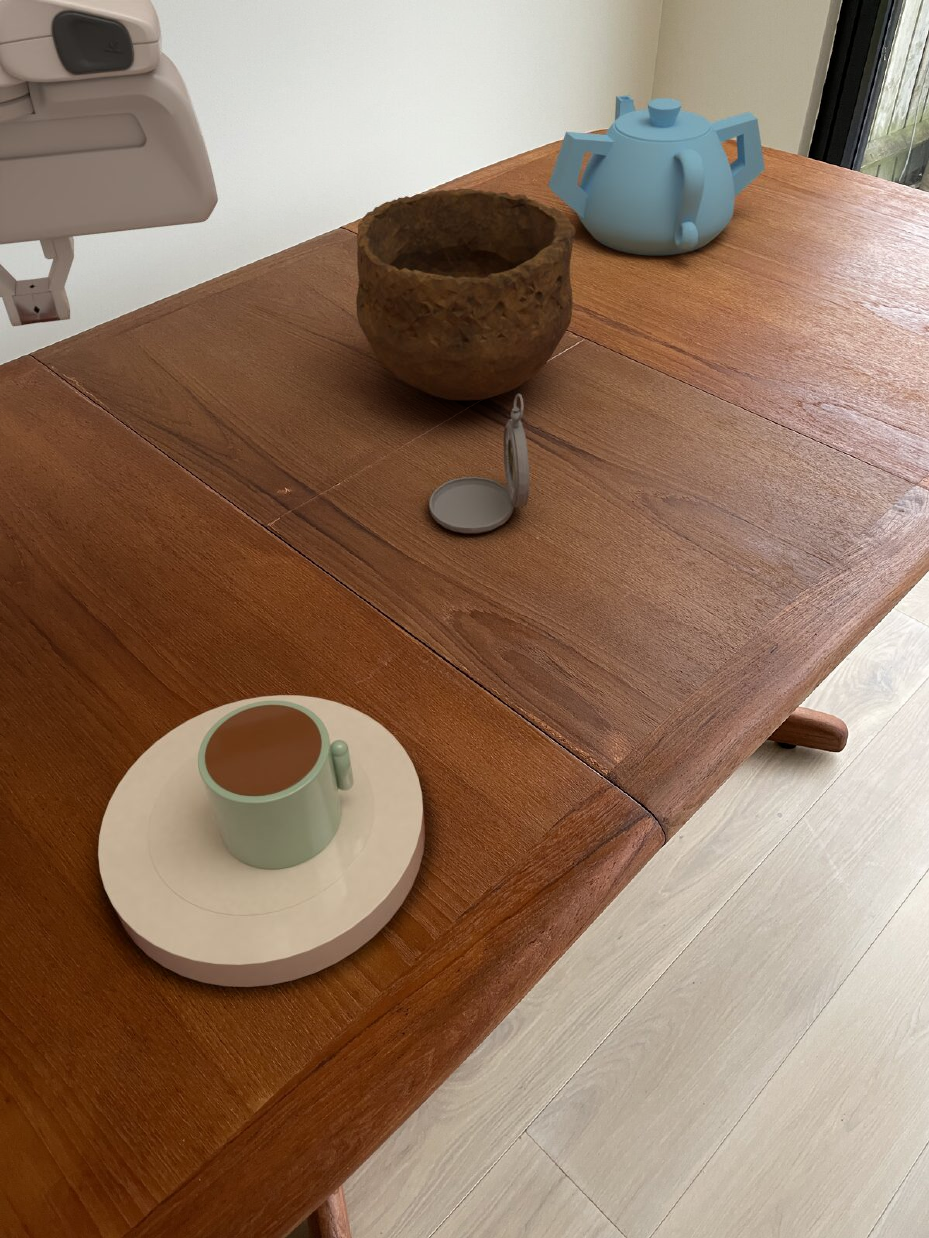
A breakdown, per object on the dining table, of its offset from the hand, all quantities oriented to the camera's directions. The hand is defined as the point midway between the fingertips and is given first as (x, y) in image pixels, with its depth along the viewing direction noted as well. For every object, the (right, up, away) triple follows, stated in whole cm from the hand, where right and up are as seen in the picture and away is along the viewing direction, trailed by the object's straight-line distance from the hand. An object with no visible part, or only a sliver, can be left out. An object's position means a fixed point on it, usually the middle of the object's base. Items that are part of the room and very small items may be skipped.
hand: (42, 318), depth 54 cm
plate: (+11, -29, +5) cm, 31 cm away
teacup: (+12, -27, +3) cm, 30 cm away
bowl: (+23, +6, +41) cm, 47 cm away
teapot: (+44, +30, +65) cm, 84 cm away
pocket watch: (+24, -8, +27) cm, 37 cm away
